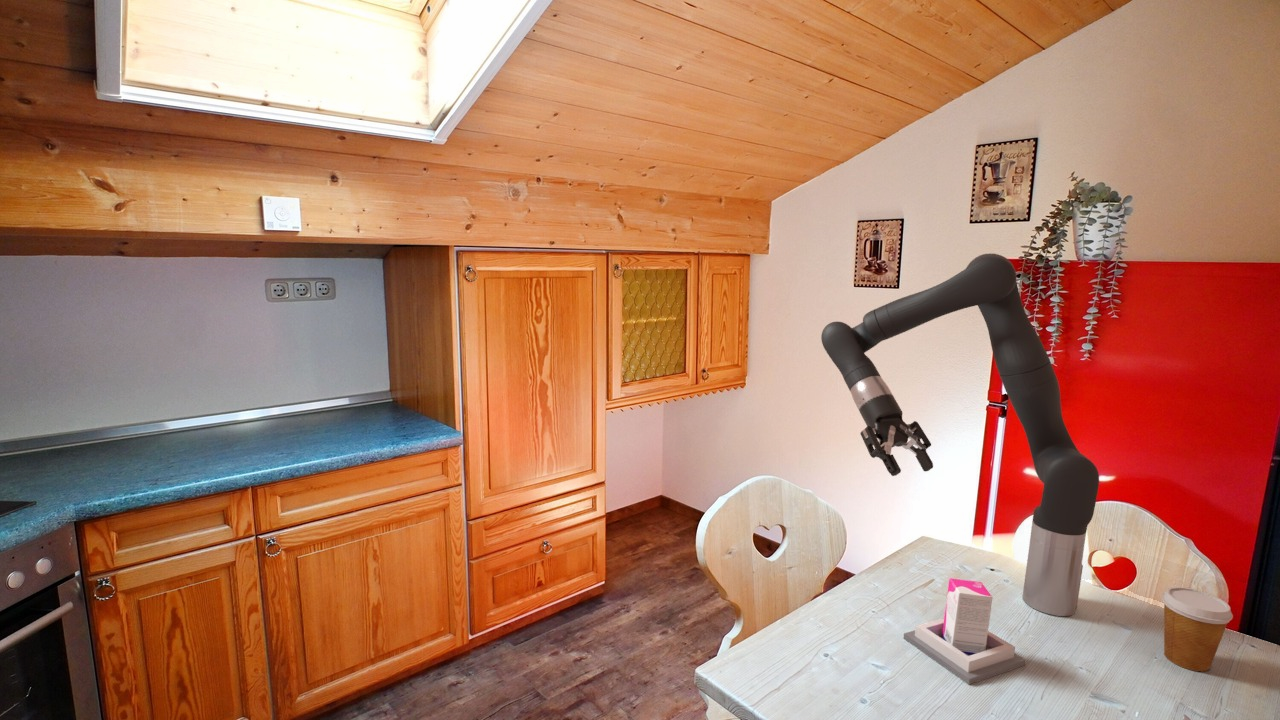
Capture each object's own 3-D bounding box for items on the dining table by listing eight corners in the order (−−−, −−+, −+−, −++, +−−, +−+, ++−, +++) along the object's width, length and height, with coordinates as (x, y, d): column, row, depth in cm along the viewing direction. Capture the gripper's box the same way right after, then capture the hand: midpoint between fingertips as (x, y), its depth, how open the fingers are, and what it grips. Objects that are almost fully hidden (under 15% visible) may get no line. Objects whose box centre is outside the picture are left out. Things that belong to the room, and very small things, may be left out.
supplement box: (986, 657, 112) (993, 597, 110) (950, 653, 113) (957, 593, 111) (974, 638, 117) (981, 580, 116) (940, 634, 118) (947, 577, 117)
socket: (957, 623, 124) (958, 608, 124) (1025, 665, 111) (1027, 649, 111) (903, 638, 119) (905, 623, 118) (968, 684, 106) (970, 668, 105)
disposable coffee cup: (1205, 651, 117) (1216, 591, 115) (1233, 683, 108) (1246, 618, 106) (1143, 640, 120) (1153, 581, 118) (1166, 670, 111) (1177, 607, 109)
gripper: (859, 394, 128) (897, 466, 119) (911, 390, 134) (952, 459, 125) (839, 414, 134) (874, 484, 125) (890, 409, 139) (927, 476, 131)
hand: (913, 471), depth 125 cm, fingers open, 8 cm apart
